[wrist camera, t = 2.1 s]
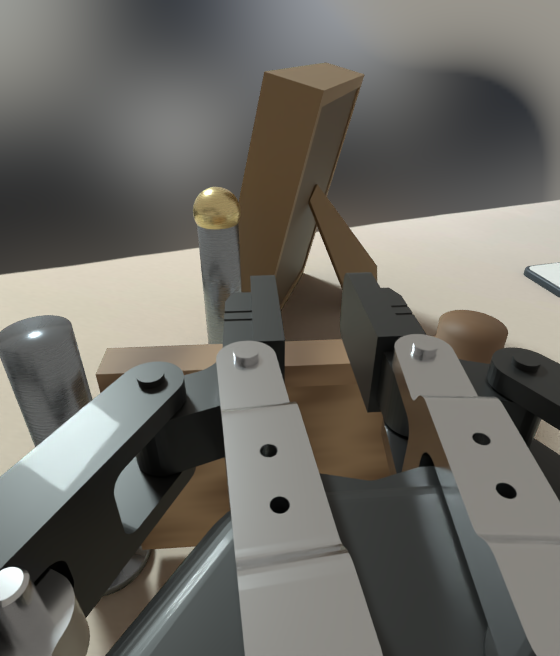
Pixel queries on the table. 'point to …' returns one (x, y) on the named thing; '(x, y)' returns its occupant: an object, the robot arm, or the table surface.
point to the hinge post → (52, 389)
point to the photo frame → (297, 176)
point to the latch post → (218, 254)
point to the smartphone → (545, 276)
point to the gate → (315, 407)
